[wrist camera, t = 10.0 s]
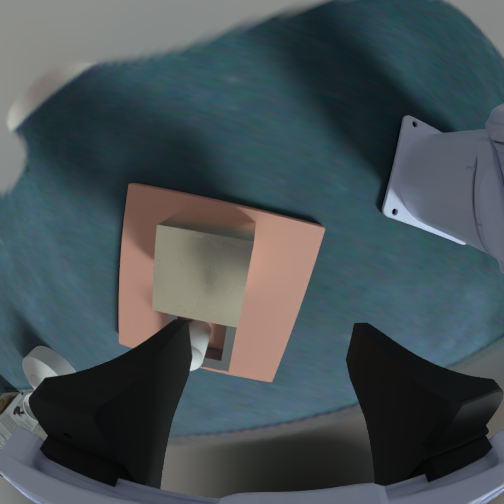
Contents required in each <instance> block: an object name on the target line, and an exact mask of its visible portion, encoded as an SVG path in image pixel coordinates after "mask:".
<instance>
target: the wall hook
mask: <svg viewBox="0 0 504 504" xmlns="http://www.w3.org/2000/svg"><path fill="white" fill-rule="evenodd" d="M22 365H23V370H24V373H25V375H26V377H27V379H28V381H29V382H30V384H31V385H32V387H33V388H34V389H36V388H37V387H38V386H39V384H40V383H41V382H42V381H43V380H44V378H45V377H53V376H60V375H66V374H71V373H75V372H76V371H75V370H74V369H73V368H72V366H71V365H70V364H69V363H68V362H67V361H66V360H65V359H64V358H63V357H62V356H60V355H59V354H58V353H56V352H55V351H53V350H52V349H50V348H48V347H45V346H37V347H35V348H34V349H33V350H32V351H31V352H30V353H29V354H28V355H27V356H26V357H25V358H24V359H23V363H22ZM34 391H35V390H33V389H29V390H26V391H25V392H24V394H23V408H24V411H25V413H26V414H27V416H28V417H29V418H31V419H32V420H34V421H37V419H36V418H35V416H34V415H33V413H32V411H31V409H30V406H29V403H28V400H29V397H30V395H31V394H32V393H33V392H34ZM37 422H38V421H37Z"/></svg>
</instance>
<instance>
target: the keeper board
mask: <svg viewBox="0 0 504 504" xmlns="http://www.w3.org/2000/svg"><path fill="white" fill-rule="evenodd" d="M181 210H188V211H194V212H200V213H206V214H212V215H218V216H224V217H230V218H235V219H241V220H247V221H252V222H256V228H255V238H254V245H253V250H252V256H251V261H250V266H249V272H248V277H247V282H246V288H245V293H244V298H243V304H242V309H241V314H240V320H239V325H238V328H237V329H236V335H235V340H234V346H233V351H232V356H231V362H230V367H229V372H227V371H222V370H216V369H211V368H206V367H201V364H202V363H203V359H204V356H205V352H206V349H207V347H213V348H218V349H223V347H224V341H225V335H226V329H227V326H226V325H220V324H215V323H210V322H205V321H200V320H195V319H190V318H186V317H182V320H188V321H189V331H190V340H191V348H192V356H193V357H192V362H191V367H190V371H192V370H196V369H197V368H203V369H207V370H212V371H216V372H220V373H225V374H229V375H234V376H239V377H244V378H250V379H255V380H261V381H266V382H272V381H273V378H274V376H275V373H276V371H277V368H278V366H279V363H280V360H281V358H282V355H283V353H284V350H285V347H286V345H287V342H288V339H289V337H290V334H291V331H292V328H293V326H294V323H295V320H296V317H297V315H298V312H299V309H300V306H301V303H302V300H303V297H304V294H305V291H306V288H307V285H308V282H309V279H310V276H311V273H312V270H313V267H314V264H315V261H316V257H317V254H318V251H319V248H320V245H321V241H322V238H323V235H324V231H325V227H324V226H323V225H320V224H316V223H312V222H309V221H305V220H301V219H297V218H293V217H289V216H285V215H281V214H277V213H273V212H269V211H265V210H261V209H257V208H252V207H248V206H244V205H240V204H235V203H231V202H226V201H222V200H218V199H213V198H208V197H204V196H199V195H194V194H190V193H185V192H180V191H175V190H170V189H165V188H160V187H155V186H150V185H144V184H139V183H130V184H129V186H128V192H127V199H126V207H125V215H124V224H123V234H122V245H121V258H120V277H119V343H120V344H122V345H125V346H128V347H131V348H135V347H136V346H138V345H139V344H141V343H142V342H144V341H146V340H147V339H148V338H150V337H151V336H153V335H154V334H155V333H157V332H158V331H159V330H161V329H162V328H163V327H165V326H166V325H167V324H168V313H163V312H159V311H155V310H152V301H153V273H154V256H155V242H156V229H157V224H159V223H160V222H162V221H164V220H166V219H167V218H169V217H171V216H173V215H174V214H176V213H178V212H180V211H181Z"/></svg>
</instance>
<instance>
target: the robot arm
mask: <svg viewBox="0 0 504 504" xmlns="http://www.w3.org/2000/svg"><path fill="white" fill-rule="evenodd" d="M413 122H414V123H415V127H414V126H413V124H412V123H413ZM485 127H486V129H484V130H470V131H459V132H449V133H442V132H440V131H439V130H437V129H435V128H433V127H431V126H429V125H428V124H426V123H424V122H422V121H420V120H418V119H416V118H414V117H412V116H410V115H407V116H404V117H403V119H402V124H401V130H400V135H399V140H398V145H397V149H396V154H395V158H394V163H393V167H392V171H391V175H390V179H389V183H388V187H387V191H386V195H385V198H384V202H383V206H382V213H383V214H384V215H385V216H387V217H390V218H393V219H396V220H399V221H402V222H404V223H407V224H410V225H413V226H416V227H418V228H421V229H424V230H426V231H429V232H432V233H434V234H437V235H439V236H442V237H444V238H447V239H450V240H452V241H454V242H457V243H459V244H462V245H465V244H466V243H467V244H469V245H471V246H473V247H475V248H477V249H479V250H481V251H483V252H485V253H487V254H489V255H491V256H493V257H495V258H496V259H497V261H498V263H499V267H500V271H501V272H503V273H504V104H501V105H499V106H497V107H495V108H494V109H492V111H491V113H490V116H489V119H488V120H487V121H486V124H485ZM393 209H395V210H396V212H395V214H394V215H393V214H392V210H393ZM192 357H193V356H192V348H191V340H190V331H189V321H188V320H181V319H174V320H173V321H171V322H170V323H169V324H167V325H166V326H165V327H163V328H162V329H161V330H159V331H158V332H157V333H155V334H154V335H153V336H151V337H150V338H148V339H147V340H146V341H144V342H142V343H141V344H139V345H138V346H136V347H135V348H133V349H132V350H130V351H128V352H126V353H125V354H123V355H121V356H119V357H117V358H115V359H113V360H110V361H108V362H106V363H103V364H100V365H98V366H95V367H93V368H90V369H86V370H83V371H79V372H75V373H71V374H66V375H60V376H53V377H45V378H44V380H43V381H42V382H41V383H40V384H39V386H38V387H37V388H36V389H35V391H34V392H33V393H32V394H31V395H30V397H29V400H28V403H29V406H30V409H31V411H32V413H33V415H34V416H35V418H36V419H37V421H38V422H39V424H40V425H41V427H42V428H43V430H44V431H45V432H46V434H47V435H48V437H47V438H46V440H45V441H44V440H43V439H42V438H40V437H39V436H38V435H36V434H34V433H32V432H31V431H29V430H27V429H25V428H24V427H22V426H18V427H17V428H16V430H15V431H14V433H13V434H12V435H11V437H10V438H9V440H8V441H7V443H6V444H5V446H4V447H3V449H2V450H1V451H0V474H1V475H2V476H3V477H4V478H5V479H7V480H8V481H9V482H10V483H11V484H12V485H13V486H14V487H16V488H17V489H18V490H19V491H20V492H21V493H23V494H24V495H25V496H26V497H28V498H29V499H31V500H32V501H34V502H35V503H37V504H486V503H487V502H488V501H490V500H492V499H493V498H495V497H496V496H498V495H499V494H500V493H501V492H502V491H504V430H502V431H500V432H499V433H497V434H495V435H494V436H492V437H491V438H490V439H489V440H488V439H487V437H486V435H487V434H488V432H489V431H488V428H487V427H486V424H487V423H488V422H489V420H490V419H491V417H492V416H493V415H494V413H495V412H496V410H497V409H498V407H499V405H500V404H501V401H502V399H503V391H502V389H501V388H500V387H499V386H498V384H497V383H496V382H495V381H494V380H493V379H487V378H480V377H473V376H468V375H465V374H461V373H458V372H454V371H451V370H448V369H446V368H443V367H440V366H438V365H435V364H433V363H431V362H429V361H427V360H425V359H423V358H421V357H419V356H417V355H415V354H414V353H412V352H410V351H409V350H407V349H405V348H404V347H402V346H401V345H399V344H398V343H396V342H395V341H393V340H392V339H391V338H389V337H388V336H386V335H385V334H383V333H382V332H381V331H379V330H378V329H376V328H375V327H373V326H372V325H370V324H369V323H354V328H353V332H352V336H351V341H350V345H349V349H348V353H347V357H346V362H347V367H348V372H349V376H350V379H351V382H352V385H353V387H354V390H355V393H356V395H357V398H358V401H359V403H360V406H361V409H362V411H363V414H364V417H365V421H366V424H367V429H368V433H369V439H370V445H371V451H372V457H373V466H374V476H375V477H374V479H375V483H365V484H355V485H349V486H343V487H337V488H330V489H320V490H310V491H297V492H258V493H257V492H256V493H238V494H234V495H230V496H225V497H223V498H221V499H217V498H208V497H200V496H193V495H187V494H181V493H176V492H170V491H166V490H161V489H160V486H161V478H162V470H163V464H164V458H165V452H166V447H167V442H168V437H169V432H170V428H171V424H172V420H173V417H174V413H175V411H176V408H177V405H178V403H179V400H180V397H181V395H182V392H183V389H184V387H185V384H186V381H187V379H188V376H189V371H190V367H191V362H192Z"/></svg>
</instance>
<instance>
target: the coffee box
mask: <svg viewBox="0 0 504 504" xmlns="http://www.w3.org/2000/svg"><path fill="white" fill-rule="evenodd" d="M37 423H38V422H37V421H34V420H32V419H31V418H29V417H28V416H27V414H26V413H25V411H24V408H23V395H22V394H21V393H20V392H9V393H2V395H1V396H0V451H1V450H2V449H3V447H4V446H5V444H6V443H7V441H8V440H9V438H10V437H11V435H12V434H13V433H14V431H15V430H16V428H17V427H18V426H22V427H24V428H25V429H27V430H29V431H31V432H32V431H33V429H34V428H35V426H36V425H37ZM0 475H1V474H0ZM1 476H2V475H1ZM2 477H3V476H2Z"/></svg>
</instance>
